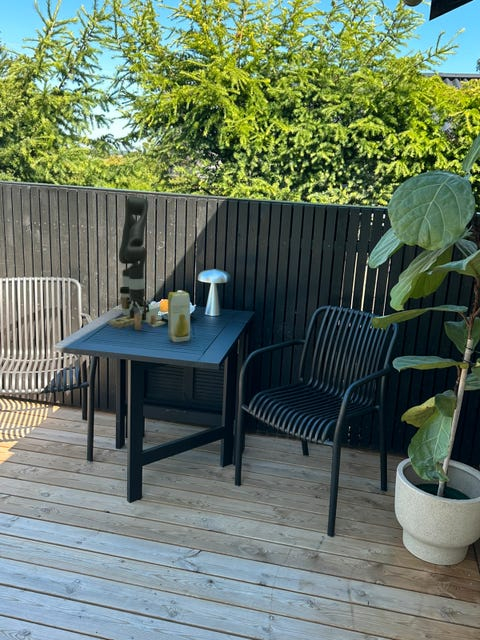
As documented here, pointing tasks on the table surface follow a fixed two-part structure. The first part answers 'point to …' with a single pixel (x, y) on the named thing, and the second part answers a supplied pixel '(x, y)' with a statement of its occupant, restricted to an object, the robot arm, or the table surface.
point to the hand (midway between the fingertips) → (138, 319)
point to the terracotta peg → (137, 321)
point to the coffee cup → (124, 299)
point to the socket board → (122, 322)
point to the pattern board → (153, 321)
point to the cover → (152, 313)
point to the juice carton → (179, 316)
